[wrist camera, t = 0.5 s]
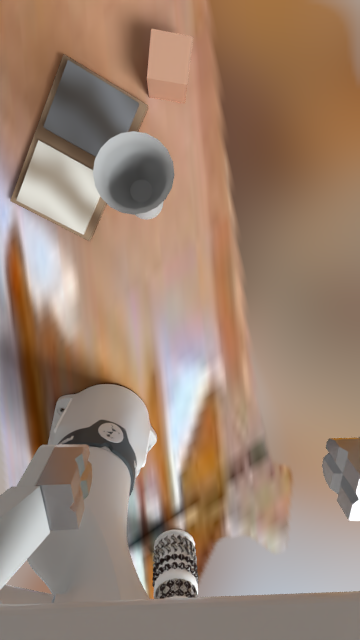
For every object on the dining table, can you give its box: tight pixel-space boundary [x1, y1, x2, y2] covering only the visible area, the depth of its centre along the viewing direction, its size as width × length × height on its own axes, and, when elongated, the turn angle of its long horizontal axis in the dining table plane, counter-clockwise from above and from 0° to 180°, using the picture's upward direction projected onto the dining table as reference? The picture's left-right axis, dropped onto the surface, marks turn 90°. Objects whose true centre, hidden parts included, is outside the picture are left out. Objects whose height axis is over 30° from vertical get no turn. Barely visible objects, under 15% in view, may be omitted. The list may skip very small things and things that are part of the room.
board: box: [10, 55, 148, 241], centre depth 41 cm, size 20×12×2 cm, turn 153°
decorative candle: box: [153, 529, 198, 599], centre depth 49 cm, size 9×9×25 cm
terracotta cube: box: [147, 29, 193, 103], centre depth 38 cm, size 5×5×5 cm
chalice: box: [93, 131, 174, 219], centre depth 35 cm, size 7×7×18 cm
